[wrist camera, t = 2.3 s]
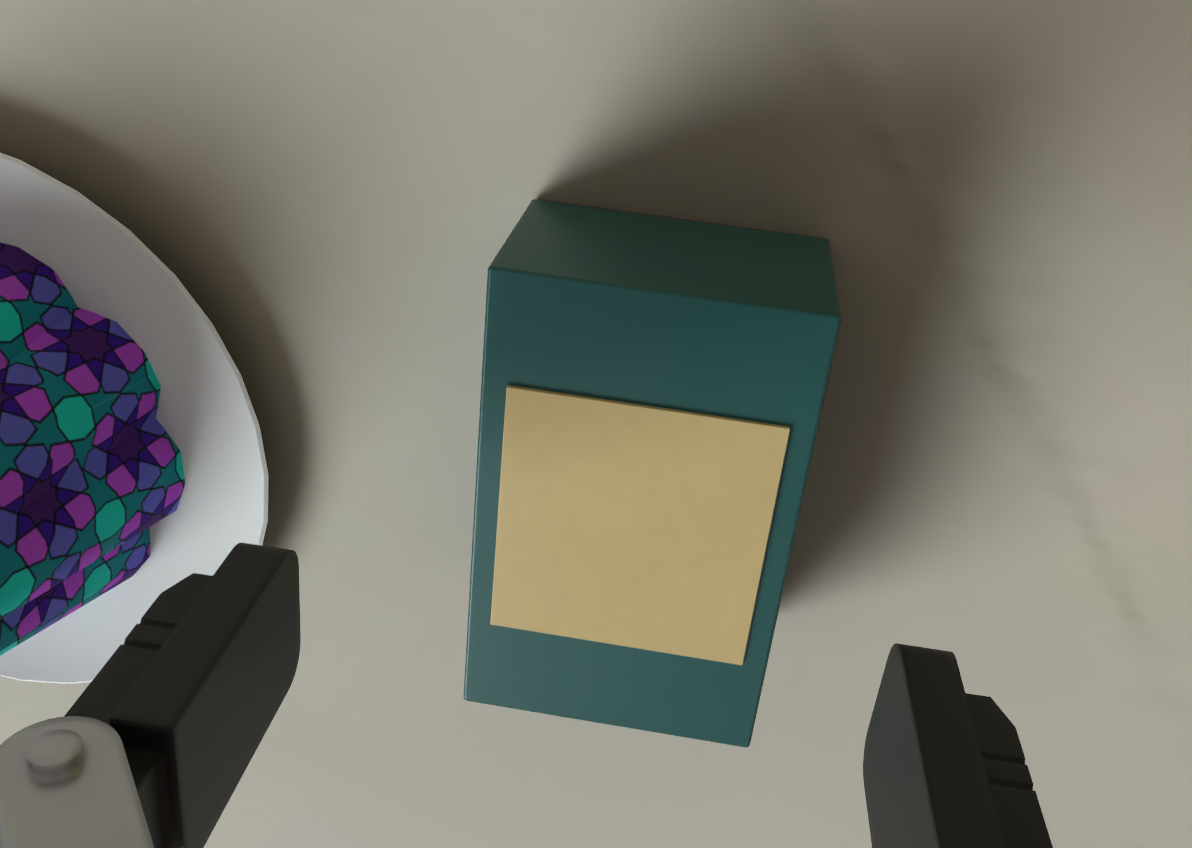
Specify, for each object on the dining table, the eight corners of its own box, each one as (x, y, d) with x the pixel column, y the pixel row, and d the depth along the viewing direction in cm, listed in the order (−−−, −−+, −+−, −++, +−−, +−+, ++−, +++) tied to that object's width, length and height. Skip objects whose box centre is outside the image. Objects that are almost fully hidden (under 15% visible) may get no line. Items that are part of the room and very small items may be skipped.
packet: (829, 238, 19) (842, 317, 16) (751, 625, 22) (749, 752, 19) (532, 198, 19) (485, 268, 16) (503, 585, 23) (461, 703, 20)
